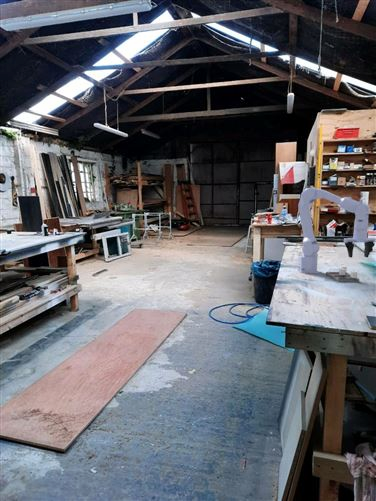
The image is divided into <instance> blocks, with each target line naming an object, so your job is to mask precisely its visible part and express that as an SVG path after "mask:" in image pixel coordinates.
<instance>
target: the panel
mask: <svg viewBox="0 0 376 501" xmlns="http://www.w3.org/2000/svg"><path fill="white" fill-rule="evenodd" d="M325 275H326V276H327V277H329V278H331V279H333V280H334V281H336V283H359V282H360V278H358V277H357V278H352V277H350V275H351V273H349V272H347V271H346V272H345V275H340V274H339V271H326V272H325Z"/></svg>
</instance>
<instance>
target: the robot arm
mask: <svg viewBox="0 0 376 501" xmlns="http://www.w3.org/2000/svg"><path fill="white" fill-rule="evenodd" d="M318 199H324V200H327V201H330V202H332V203H335V204H338V205H339V208H340V209H343V210H345V211H347V212H349V213H352V214H353V213H354V215H355V219H354V222H353V223H354V225H353V236H352V237H347V238H345V237H344V238H343V243H344V245H345V247H346V250H347V253H348V255H347V256H348V257H349V258H353V256H354V255H353V253H354V247H355V244H354V243H363V244H364V245H363V246H364V254H363V256H364V258H369V255H370V253H371V251H372V249H373V247H374V246H375V244H376V238H375V237H368V228H369V227H368V226H369V214H370V212H371V207H370V205H368V204H367V203H362V201H360V200H359V201H358V200H355V199H352V196H345V197H341V196H338V195H336V194H333V193H332V192H330V191H327V190H325V189H321V188H318V187H306V188H305V189H304V190H303V191H302V192H301V195H300V199H299V202H298V205H297V208H298V214H299V219H300V224H301V228H302V229H301V230H302V235H303V239H302V248H301V251H302V253H303V254H302V255H298V258H297V269H296V270H297V271H298V272H300V273H301V274H320V273H321V272H320V271H319V270H318V259H319V256H318V255H319V254H318V252H319V251H320V248H321V247H320V244H319V243H318V241H317V238H316V236H315V234H314V233H315V232H314V227H313V222H312V216H311V210H310V207H311V205H312V204H313V203H314V202H315V201H317V200H318Z"/></svg>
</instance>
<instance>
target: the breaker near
mask: <svg viewBox="0 0 376 501" xmlns="http://www.w3.org/2000/svg"><path fill="white" fill-rule="evenodd" d="M350 277H352V278H358V271H356V270H351V271H350Z"/></svg>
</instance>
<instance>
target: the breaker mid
mask: <svg viewBox="0 0 376 501" xmlns="http://www.w3.org/2000/svg"><path fill="white" fill-rule="evenodd" d="M345 271H346V272H347V270H346V269H344V268H341V267H339V270H338V272H339V274H340V275H345Z"/></svg>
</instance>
